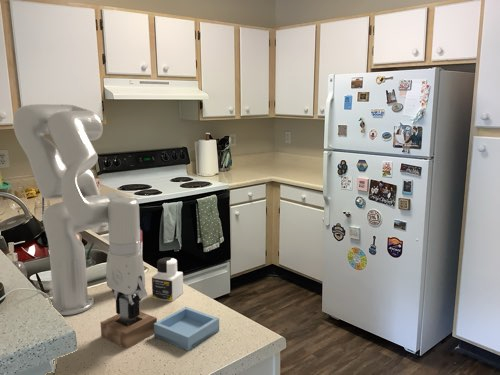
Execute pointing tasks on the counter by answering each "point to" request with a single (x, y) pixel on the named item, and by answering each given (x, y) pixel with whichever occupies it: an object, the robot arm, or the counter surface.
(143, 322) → the hole block
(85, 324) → the counter surface
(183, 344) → the tray
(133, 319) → the peg
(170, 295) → the medicine bottle
